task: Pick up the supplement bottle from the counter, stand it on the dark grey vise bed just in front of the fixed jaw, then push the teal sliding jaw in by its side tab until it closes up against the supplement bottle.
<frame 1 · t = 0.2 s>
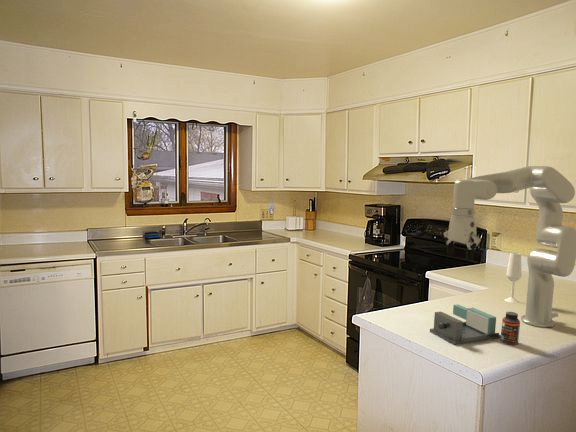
hand: (459, 257, 168), 31 cm above the table, tool pointing down, fingers open, 9 cm apart
champagne flute: (511, 301, 219), on the table
supplement bottle: (509, 342, 165), on the table
jaw: (472, 317, 177), point 5 cm above the table, slide at 0.0 cm
vise: (464, 335, 172), on the table
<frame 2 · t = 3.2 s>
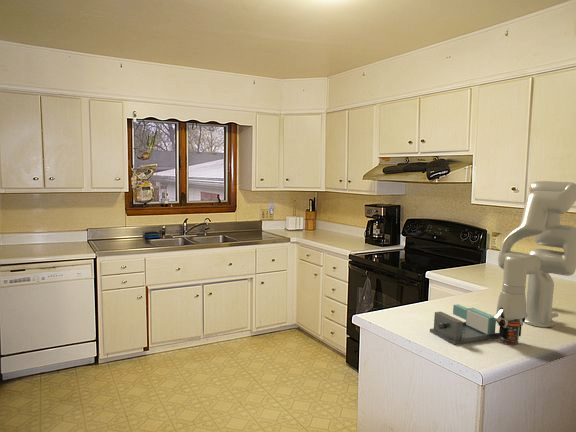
hand: (509, 335, 165), 3 cm above the table, tool pointing down, fingers closed on supplement bottle, 6 cm apart
supplement bottle: (509, 342, 165), on the table, touching gripper
everything else where it was.
when the fingers open (5 cm above the table, at t = 8.0 s): supplement bottle drops 1 cm, resting on vise.
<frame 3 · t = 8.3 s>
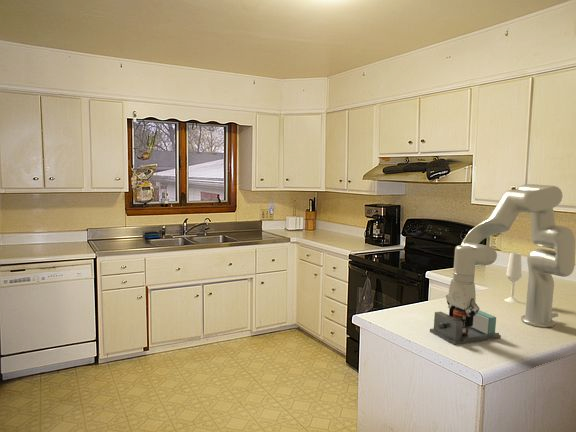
hand: (460, 322, 170), 6 cm above the table, tool pointing down, fingers open, 8 cm apart
supplement bottle: (459, 333, 171), point 1 cm above the table, touching vise
everything else where it was.
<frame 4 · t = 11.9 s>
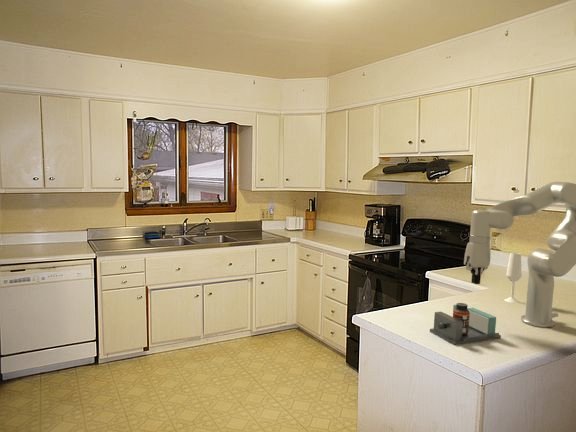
hand: (475, 283, 184), 17 cm above the table, tool pointing down, fingers closed
nothing on the table moved.
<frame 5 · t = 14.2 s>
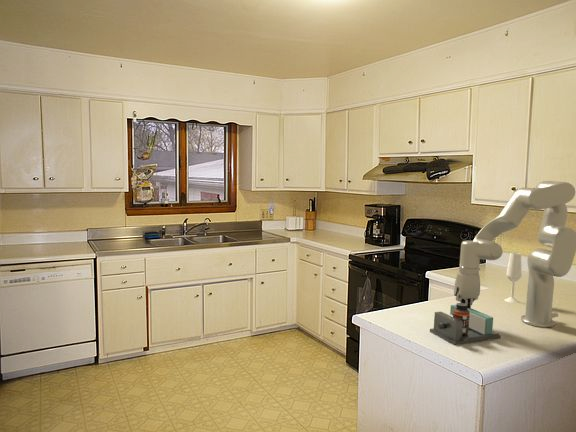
hand: (465, 313, 184), 4 cm above the table, tool pointing down, fingers closed
jaw: (469, 318, 177), point 5 cm above the table, slide at 1.5 cm, touching gripper
everything else where it was.
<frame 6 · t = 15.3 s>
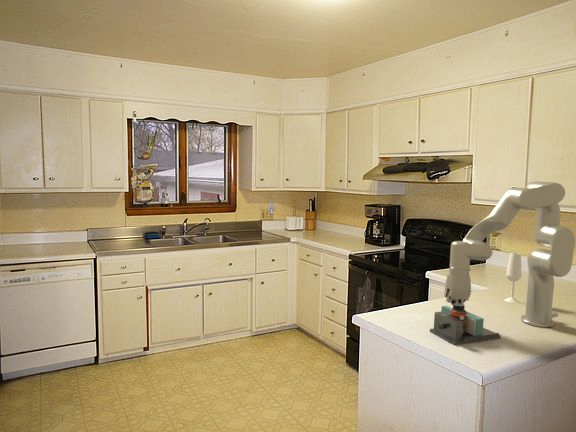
hand: (456, 315, 182), 4 cm above the table, tool pointing down, fingers closed
supplement bottle: (457, 333, 170), point 1 cm above the table, touching jaw, vise
jaw: (460, 319, 175), point 5 cm above the table, slide at 6.2 cm, touching supplement bottle, gripper
everything else where it was.
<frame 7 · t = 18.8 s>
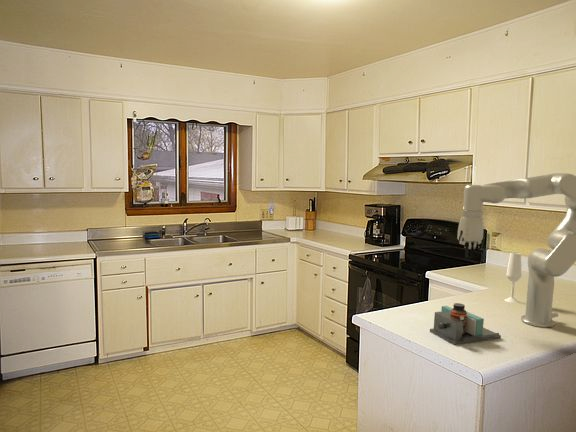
hand: (469, 257, 186), 27 cm above the table, tool pointing down, fingers closed
supplement bottle: (457, 333, 170), point 1 cm above the table, touching vise
jaw: (460, 319, 175), point 5 cm above the table, slide at 6.2 cm
everything else where it was.
at the end: supplement bottle inside the target area on the vise (0.9 cm from its centre), point 1.0 cm above the vise's base; supplement bottle tilted 0°; jaw slide at 6.2 cm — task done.
